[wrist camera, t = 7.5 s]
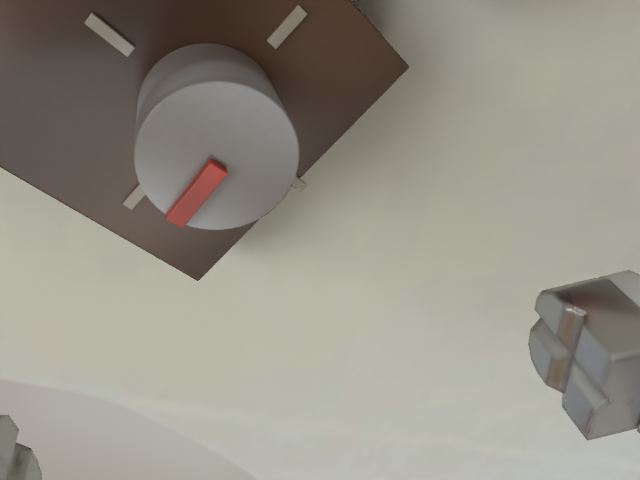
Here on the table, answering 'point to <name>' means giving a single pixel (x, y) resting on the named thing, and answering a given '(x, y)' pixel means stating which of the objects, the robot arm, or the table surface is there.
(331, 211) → the table surface
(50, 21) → the dial panel
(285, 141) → the dial
